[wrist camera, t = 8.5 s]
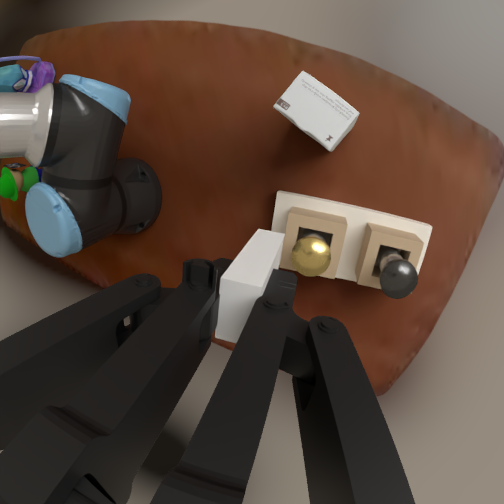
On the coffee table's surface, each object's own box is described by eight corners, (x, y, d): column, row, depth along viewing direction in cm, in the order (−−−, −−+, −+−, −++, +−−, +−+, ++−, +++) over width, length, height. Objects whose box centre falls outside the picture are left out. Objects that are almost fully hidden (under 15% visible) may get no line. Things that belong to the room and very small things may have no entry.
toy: (53, 162, 57) (6, 171, 43) (51, 195, 60) (6, 208, 46) (36, 158, 58) (-8, 166, 44) (34, 189, 61) (-8, 201, 48)
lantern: (47, 54, 47) (-42, 48, 20) (64, 66, 48) (-37, 60, 20) (28, 96, 53) (-58, 101, 25) (43, 112, 53) (-53, 120, 26)
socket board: (268, 258, 51) (259, 274, 44) (279, 190, 46) (271, 196, 40) (408, 288, 46) (418, 307, 40) (428, 224, 42) (443, 235, 35)
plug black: (367, 267, 43) (375, 294, 35) (375, 236, 42) (387, 257, 33) (396, 273, 42) (410, 301, 34) (405, 243, 41) (423, 265, 32)
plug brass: (295, 249, 47) (287, 271, 38) (301, 218, 45) (294, 234, 36) (326, 255, 46) (325, 280, 37) (333, 225, 44) (334, 243, 35)
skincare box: (353, 126, 40) (365, 113, 26) (329, 154, 43) (331, 153, 29) (311, 93, 40) (303, 66, 26) (288, 121, 42) (270, 106, 29)
